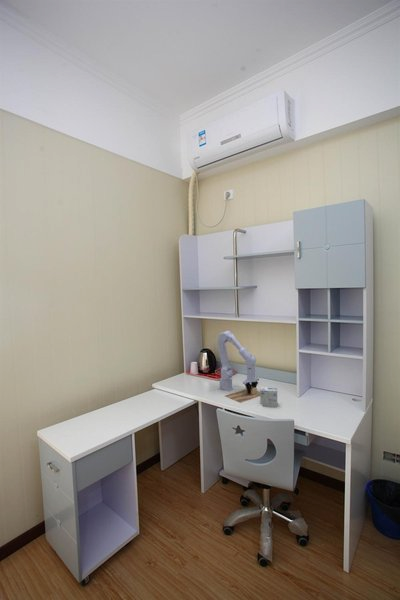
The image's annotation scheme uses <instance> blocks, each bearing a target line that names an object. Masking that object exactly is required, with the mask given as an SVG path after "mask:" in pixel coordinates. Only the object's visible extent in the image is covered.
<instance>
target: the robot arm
mask: <svg viewBox="0 0 400 600" xmlns="http://www.w3.org/2000/svg"><path fill="white" fill-rule="evenodd" d="M226 343H231V344H232V345H233V346H234V347H235V348H236V349H237V350H238V354H239V355H240V356H241V357H242V359H244V362H245V364H246V379H245V380H243V381H242V384H243V385H244V386H245V389H246V388H247V391H248V393H251V386H253V387H256V388H257V386H258V384H259V381H260V377H258V376H256V361H257V359H256V357H255V355H252V354H251V353H250V351H249V350H248V348H246V347H243V346H242V345H241V343H240V342H239V341H238V340H237V338H236V337H235V335H234V334H233V333H232V331H230V330H225V331H224V332H220V334H219V335H218V340H217V347H218V349H217V350H218V353H219V357H220V363H221V369H220V371H221V372H220V378H219V389H218V390H222V391H226V392H228V391H232V390H233V375H234V371H233V368H232V366H231V365H230V363H229V356H228V353H227V347H226Z"/></svg>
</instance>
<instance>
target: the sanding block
mask: <svg viewBox="0 0 400 600" xmlns="http://www.w3.org/2000/svg"><path fill="white" fill-rule="evenodd" d="M245 389H246V392H247V393H248V391H247V388H246V387H245ZM257 391H258V388H257V386H256V387H253V386H251V393H250V394H252V395H254V394H257Z"/></svg>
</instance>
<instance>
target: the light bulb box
mask: <svg viewBox="0 0 400 600" xmlns="http://www.w3.org/2000/svg"><path fill="white" fill-rule="evenodd" d="M259 392H260V396H259V399H260V400H259V401H260V405H261V407H269V408H277V407H278V388H277V387H272V386H271V387H270V386H267V387H266V386H260V390H259Z"/></svg>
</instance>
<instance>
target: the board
mask: <svg viewBox="0 0 400 600" xmlns="http://www.w3.org/2000/svg"><path fill="white" fill-rule="evenodd" d="M224 397H226V398H228V399H230V400H232V401H235V402H238V403H239V404H241V403H244V402H247V401H250V400H253V399H256V398H258V397H259V398H260V391H258V390H257V394H254V395H252V394H250V393H247V392H246V388H244V389H242V390H239V391H236V392H232V393H229V394H226V395H224Z"/></svg>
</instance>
